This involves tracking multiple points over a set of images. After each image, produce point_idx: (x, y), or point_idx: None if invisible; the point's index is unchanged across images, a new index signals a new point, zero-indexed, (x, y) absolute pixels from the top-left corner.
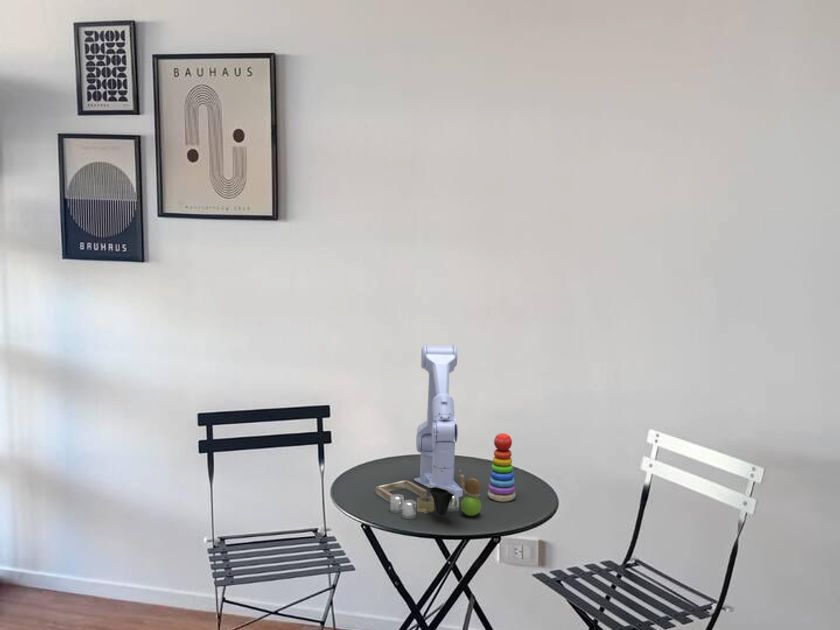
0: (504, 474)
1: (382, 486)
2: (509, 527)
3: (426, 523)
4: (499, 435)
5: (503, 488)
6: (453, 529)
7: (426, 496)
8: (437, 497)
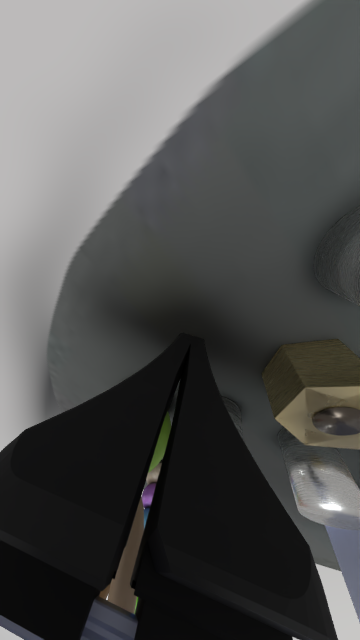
0: None
1: None
2: (52, 383)
3: (208, 251)
4: None
5: (148, 504)
6: (92, 288)
7: (353, 448)
8: (129, 421)
